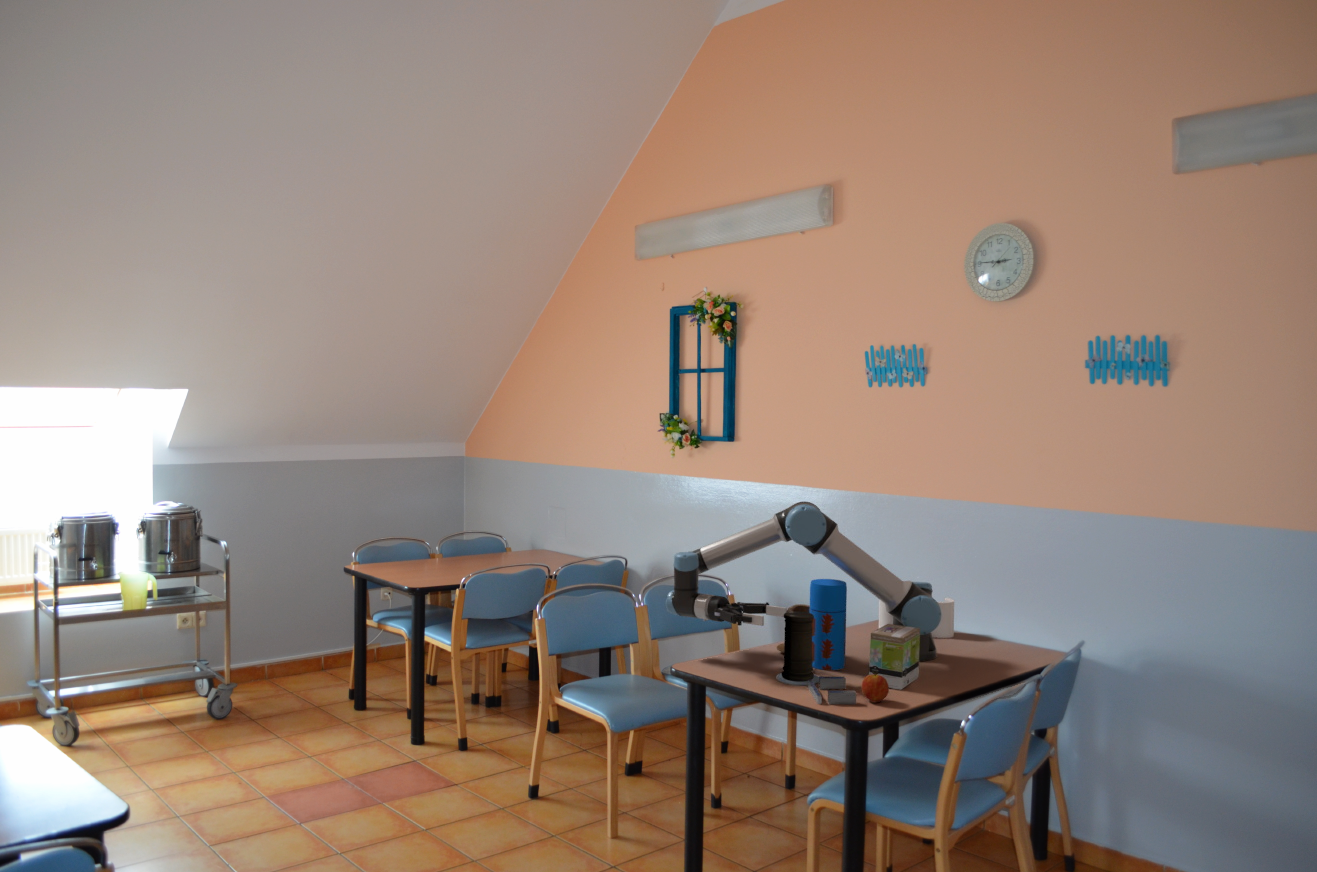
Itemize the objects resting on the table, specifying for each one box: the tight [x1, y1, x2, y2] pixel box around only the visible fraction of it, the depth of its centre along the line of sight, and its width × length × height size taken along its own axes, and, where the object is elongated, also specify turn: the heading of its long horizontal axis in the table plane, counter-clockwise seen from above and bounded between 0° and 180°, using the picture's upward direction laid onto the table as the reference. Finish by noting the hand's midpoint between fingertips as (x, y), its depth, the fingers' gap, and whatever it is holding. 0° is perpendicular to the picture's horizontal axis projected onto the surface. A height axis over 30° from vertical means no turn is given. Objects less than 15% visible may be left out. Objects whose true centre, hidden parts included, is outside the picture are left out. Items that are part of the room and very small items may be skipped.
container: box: [781, 611, 815, 681], centre depth 268 cm, size 9×9×18 cm
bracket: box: [878, 597, 955, 639], centre depth 326 cm, size 25×10×12 cm, turn 82°
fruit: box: [861, 671, 890, 703], centre depth 249 cm, size 7×7×8 cm
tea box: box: [868, 624, 920, 691], centre depth 268 cm, size 15×10×15 cm, turn 148°
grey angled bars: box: [807, 675, 857, 705], centre depth 254 cm, size 10×15×3 cm, turn 1°
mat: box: [776, 672, 819, 687], centre depth 269 cm, size 12×12×1 cm
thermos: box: [809, 578, 848, 671], centre depth 283 cm, size 11×11×25 cm
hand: (775, 616), depth 274 cm, fingers open, 13 cm apart
